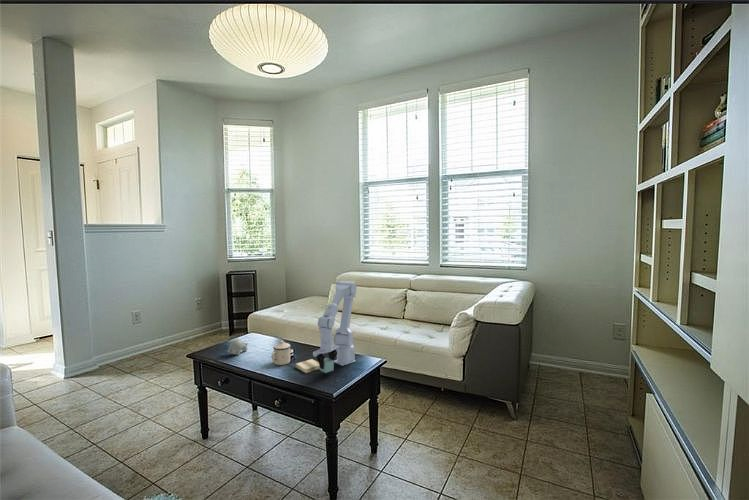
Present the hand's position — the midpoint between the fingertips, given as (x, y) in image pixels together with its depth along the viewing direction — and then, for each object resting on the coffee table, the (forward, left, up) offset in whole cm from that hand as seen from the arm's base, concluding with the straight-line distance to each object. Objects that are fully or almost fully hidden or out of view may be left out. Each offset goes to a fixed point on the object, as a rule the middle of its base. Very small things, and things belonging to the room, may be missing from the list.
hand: (326, 366), depth 176 cm
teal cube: (0, 0, -2) cm, 2 cm away
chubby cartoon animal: (+21, -58, -4) cm, 62 cm away
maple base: (+2, -13, -4) cm, 14 cm away
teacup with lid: (+10, -29, -4) cm, 31 cm away
